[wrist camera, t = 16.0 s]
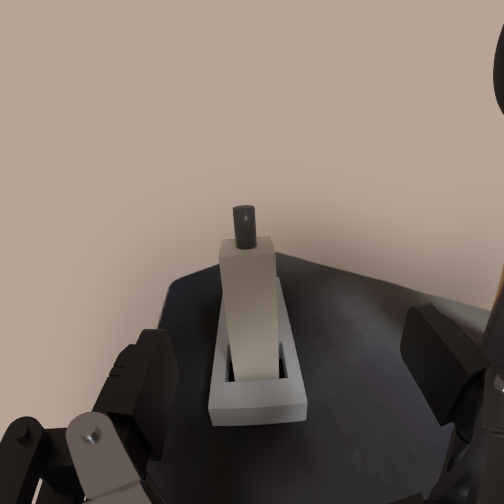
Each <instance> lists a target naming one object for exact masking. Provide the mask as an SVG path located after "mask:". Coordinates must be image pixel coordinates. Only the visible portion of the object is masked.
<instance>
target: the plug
mask: <svg viewBox="0 0 504 504" xmlns="http://www.w3.org/2000/svg"><path fill="white" fill-rule="evenodd" d="M233 217H234V229H235V239H227V240H222V243H221V249H220V254H219V263H220V272H221V280H222V289H223V297H224V305H225V313H226V320H227V328H228V335H229V343H230V350H231V357H232V364H233V371H234V378H235V382H240V381H258V380H272V379H279V354H278V315H277V284H276V257H275V251H274V247H273V244H272V241H271V238H270V236H267V237H256V224H255V209H254V206H250V205H244V206H237V207H234V208H233Z"/></svg>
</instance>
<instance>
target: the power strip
mask: <svg viewBox="0 0 504 504" xmlns="http://www.w3.org/2000/svg"><path fill="white" fill-rule="evenodd" d="M276 284H277V315H278V354H279V359H282V361H283V367H284V374H285V378H283V379H272V380H258V381H240V382H229V371H230V362H232V357H231V350H230V343H229V335H228V328H227V320H226V313H225V305H224V297H223V295H222V302H221V310H220V317H219V325H218V332H217V340H216V348H215V355H214V363H213V371H212V380H211V388H210V396H209V405H208V411H209V414H210V418H211V421H212V425H213V426H241V425H261V424H275V423H286V422H295V421H304V420H306V414H307V398H306V393H305V389H304V384H303V380H302V375H301V371H300V366H299V362H298V358H297V353H296V349H295V344H294V340H293V336H292V331H291V327H290V323H289V318H288V314H287V310H286V306H285V301H284V297H283V293H282V289H281V285H280V280H279V277H276Z"/></svg>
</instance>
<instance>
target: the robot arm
mask: <svg viewBox="0 0 504 504" xmlns="http://www.w3.org/2000/svg"><path fill="white" fill-rule="evenodd" d="M493 82H494V91H495V96H496V99H497V103H498V105H499V107H500V109H501V111H502V113H503V114H504V25H503V27H502V30H501V33H500V36H499V40H498V43H497V48H496V52H495V58H494V68H493ZM400 351H401V356H402V359H403V361H404V362H405V364H406V366H407V367H408V369H409V371H410V372H411V374H412V376H413V378H414V379H415V381H416V383H417V385H418V386H419V388H420V390H421V392H422V393H423V395H424V397H425V399H426V400H427V402H428V404H429V406H430V408H431V410H432V411H433V413H434V415H435V417H436V419H437V421H438V423H439V424H440V426H443V425H446V424H448V423H451V422H453V423H454V424H455V427H454V428H453V430H452V433H451V438H450V442H449V446H448V450H447V454H446V458H445V461H444V465H443V468H442V471H441V475H440V477H439V480H438V482H437V483H436V485H435V487H434V488H433V490H432V491H431V493H430V495H429V497H428V499H427V500H423V497H422V494H421V492H420V493H418V494H415V495H412V496H410V497H407V498H404V499H401V500H398V501H395V502H392V503H389V504H504V266H503V270H502V275H501V279H500V283H499V286H498V290H497V294H496V298H495V301H494V304H493V307H492V310H491V314H490V317H489V320H488V323H487V326H486V328H485V331H484V334H483V336H482V339H481V342H480V344H479V347H477V346H476V345H475V343H474V342H473V341H472V340H470V339H469V337H468V336H467V334H466V333H465V332H464V333H463V330H462V329H461V328H460V327H459V326H458V324H457V323H456V322H455V321H453V320H451V319H450V318H448V317H446V316H444V315H442V314H441V313H440V312H439V311H438V310H437V309H436V308H435V307H434V306H433V305H432V304H430V303H429V304H423V305H418V306H412V307H410V308H409V310H408V313H407V317H406V322H405V326H404V331H403V335H402V339H401V343H400ZM178 381H179V369H178V364H177V360H176V357H175V354H174V350H173V347H172V343H171V340H170V336H169V333H168V331H167V330H166V329H144V330H143V331H142V332H141V334H140V336H139V339H138V341H137V343H136V344H129V345H128V346H127V347H126V348H125V349H124V350H123V351H122V352H121V353H120V354H119V355H118V357H117V359H116V361H115V363H114V368H112V369H111V371H110V373H109V377H107V380H106V382H105V384H104V386H103V388H102V390H101V392H100V394H99V396H98V398H97V401H96V403H95V405H94V407H93V410H92V411H91V412H86V413H83V414H81V415H79V416H77V417H76V418H75V419H73V420H72V421H71V422H70V424H69V425H68V427H67V428H54V429H44V428H43V427H42V425H41V424H40V423H39V422H38V421H37V420H36V419H35V418H33V417H27V416H25V417H21V418H18V419H16V420H15V421H13V422H12V423H11V424H10V426H9V427H8V428H7V430H6V432H5V434H4V436H3V438H2V440H1V442H0V504H31V503H32V500H33V497H34V494H35V490H36V488H37V485H38V482H39V479H40V478H41V479H42V480H43V481H42V484H41V488H40V491H39V494H38V497H37V500H36V503H35V504H168V503H167V502H166V500H165V499H164V497H163V496H162V494H161V493H160V491H159V490H158V488H157V487H156V485H155V483H154V482H153V480H152V479H151V477H150V475H149V474H148V472H147V471H146V467H147V463H148V460H155V461H161V456H162V452H163V447H164V442H165V438H166V433H167V429H168V424H169V420H170V415H171V411H172V407H173V402H174V398H175V394H176V389H177V385H178ZM85 496H86V501H84V497H85Z"/></svg>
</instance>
